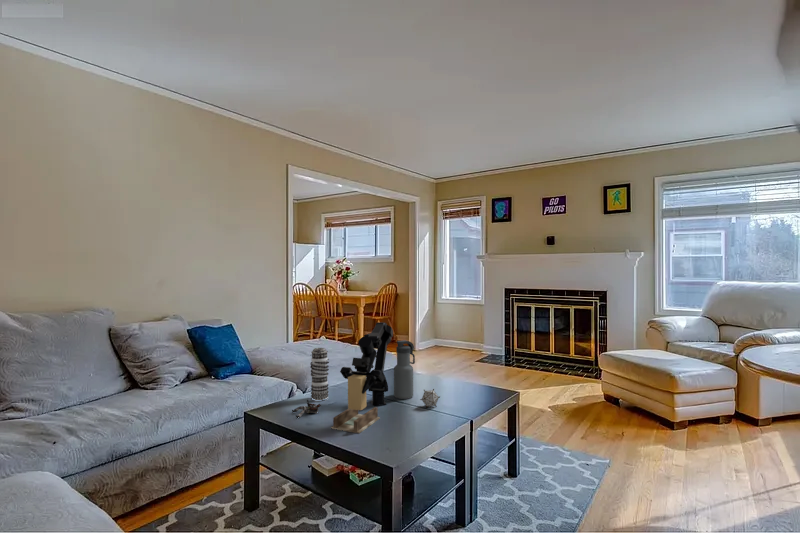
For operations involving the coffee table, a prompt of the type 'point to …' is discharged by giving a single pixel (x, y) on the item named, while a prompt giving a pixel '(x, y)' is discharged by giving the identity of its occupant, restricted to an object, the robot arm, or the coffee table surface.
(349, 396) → the pillar
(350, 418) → the brown open-ended tray
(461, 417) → the coffee table surface
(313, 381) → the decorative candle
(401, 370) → the water bottle
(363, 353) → the robot arm
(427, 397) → the game die
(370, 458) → the coffee table surface
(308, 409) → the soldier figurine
